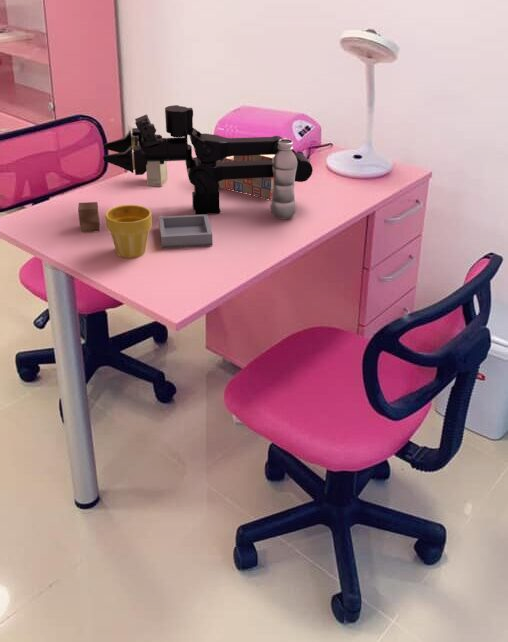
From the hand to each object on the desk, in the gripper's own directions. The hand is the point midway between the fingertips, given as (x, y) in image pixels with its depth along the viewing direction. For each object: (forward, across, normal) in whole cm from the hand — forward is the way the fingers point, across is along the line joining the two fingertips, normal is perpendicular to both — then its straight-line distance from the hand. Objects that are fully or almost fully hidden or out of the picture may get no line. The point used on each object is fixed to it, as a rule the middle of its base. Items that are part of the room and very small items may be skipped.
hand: (103, 152), depth 179 cm
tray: (-18, +16, +17) cm, 29 cm away
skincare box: (-13, -22, +17) cm, 31 cm away
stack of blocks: (-37, -14, +17) cm, 43 cm away
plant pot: (-5, +23, +17) cm, 29 cm away
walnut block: (+5, +8, +17) cm, 19 cm away
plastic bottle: (-44, +7, +17) cm, 48 cm away
